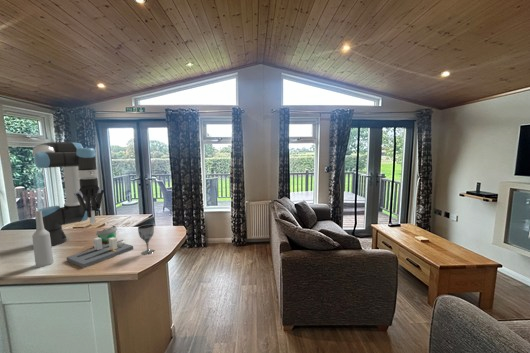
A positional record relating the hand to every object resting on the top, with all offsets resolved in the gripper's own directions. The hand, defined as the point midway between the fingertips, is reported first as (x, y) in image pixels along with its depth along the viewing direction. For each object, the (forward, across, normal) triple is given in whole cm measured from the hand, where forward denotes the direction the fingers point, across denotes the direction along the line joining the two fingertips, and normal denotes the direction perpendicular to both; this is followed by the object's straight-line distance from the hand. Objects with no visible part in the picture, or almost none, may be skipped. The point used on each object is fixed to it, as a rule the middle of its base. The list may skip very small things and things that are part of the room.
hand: (92, 222), depth 122 cm
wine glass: (+20, +18, -18) cm, 32 cm away
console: (+20, +4, +3) cm, 21 cm away
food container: (+21, +16, +16) cm, 31 cm away
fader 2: (+18, +9, -1) cm, 20 cm away
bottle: (+21, -15, +18) cm, 31 cm away
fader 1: (+18, +5, +7) cm, 20 cm away
